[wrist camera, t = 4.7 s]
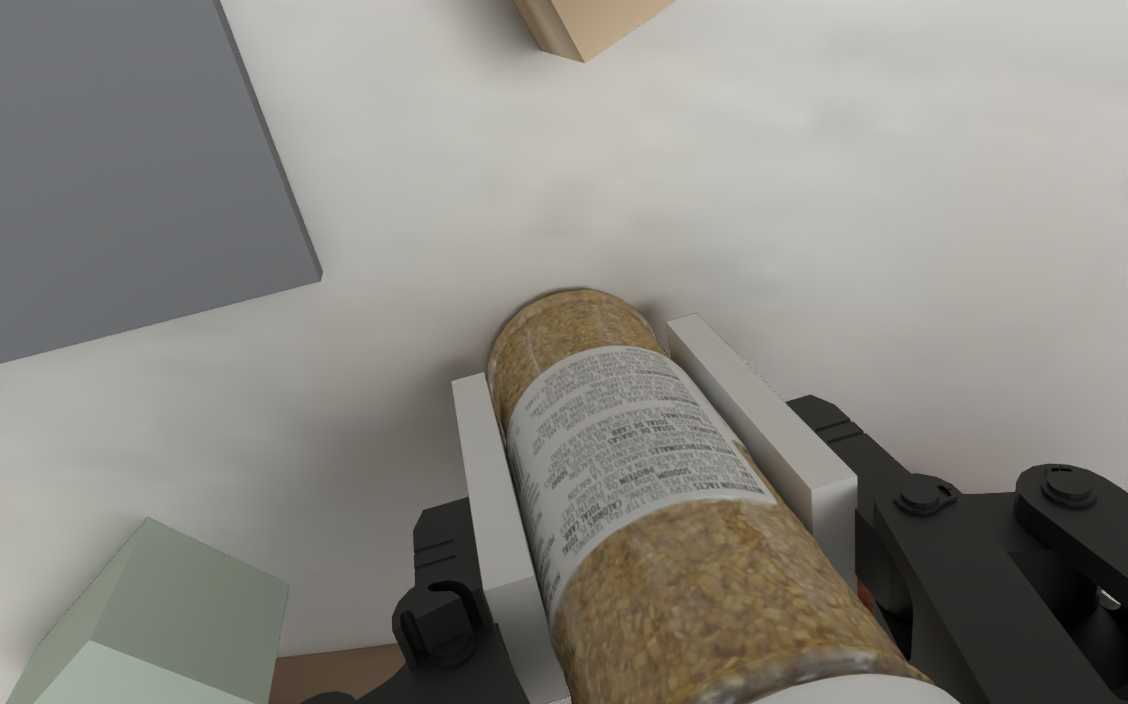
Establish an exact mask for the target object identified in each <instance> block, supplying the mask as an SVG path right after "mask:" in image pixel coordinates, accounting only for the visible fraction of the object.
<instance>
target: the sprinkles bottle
mask: <svg viewBox="0 0 1128 704" xmlns="http://www.w3.org/2000/svg"><path fill="white" fill-rule="evenodd" d="M487 376H488V382H487V385H488V388H489V392H490V395H491V399H492V402H493V406H494V409H495V413H496V415H497V416H498V417H499V418H500V420H501V422H502V426H503V429H504V433H505V438H506V456H507V460H508V465H509V468H510V473H511V477H512V481H513V485H514V489H515V493H516V497H517V501H518V505H519V509H520V513H521V517H522V521H523V525H524V529H525V532H526V537H527V541H528V545H529V549H530V553H531V557H532V561H533V565H534V569H535V573H536V577H537V581H538V585H539V589H540V593H541V597H542V601H543V605H544V609H545V613H546V617H547V621H548V626H549V634H550V638H551V643H552V647H553V650H554V653H555V656H556V658H557V661H558V663H559V665H560V667H561V669H562V671H563V672H564V677H565V681H566V684H567V687H568V689H569V692H570V696H571V702H572V704H961V703H959V702H958V701H957V700H956V699H954V698H953V697H952V696H951V695H949V694H948V693H947V692H945V691H944V690H942V689H940V688H938V687H936V686H935V684H934V682H933V681H932V680H931V679H930V678H929V677H927V676H926V675H924V674H923V673H921V672H920V671H919V670H917V669H916V668H915V667H913V666H911V665H909V664H908V662H907V661H906V659H905V658H904V656H903V654H902V653H901V651H900V650H899V649H898V648H897V647H896V645H895V644H894V643H893V642H892V641H891V639H890V638H889V636H888V635H887V633H886V632H885V631H884V630H883V629H882V627H881V626H880V625H879V624H878V623H877V621H876V619H875V618H874V616H873V615H872V613H871V612H870V611H869V610H868V609H867V608H866V607H864V605H863V603H862V602H861V600H860V599H859V598H858V597H857V596H856V595H855V594H854V593H853V591H852V589H851V588H850V587H849V586H848V584H847V582H846V581H845V580H844V579H843V578H842V577H841V576H840V575H839V574H838V573H837V571H836V569H835V568H834V567H833V566H832V565H831V564H830V562H829V561H828V559H827V557H826V556H825V554H824V553H823V551H822V550H821V549H820V547H819V545H818V543H817V542H816V540H815V539H814V538H813V536H812V535H811V534H810V532H808V531H807V530H806V529H805V528H804V525H803V524H802V522H801V521H800V520H799V518H798V517H797V516H796V515H795V514H794V513H793V512H792V510H791V509H790V508H789V507H788V506H787V505H786V504H785V503H784V501H783V499H782V498H781V496H780V495H779V494H778V492H777V491H776V490H775V489H774V487H773V486H772V485H771V484H770V482H769V481H768V480H767V478H766V477H765V476H764V474H763V473H762V472H761V471H760V470H759V468H758V466H757V464H756V463H755V462H754V461H753V458H752V456H751V454H750V452H749V451H748V449H747V448H746V446H745V445H744V444H743V443H742V442H741V440H740V439H739V438H738V437H737V435H736V434H735V433H734V432H733V431H732V429H731V428H730V427H729V426H728V424H727V423H726V422H725V420H724V419H723V418H722V417H721V415H720V414H719V413H718V412H717V411H716V409H715V408H714V407H713V406H712V404H711V403H710V402H709V401H708V399H707V398H706V397H705V396H704V394H703V393H702V392H701V391H700V389H699V388H698V387H697V385H696V384H695V383H694V382H693V380H692V379H691V378H690V377H689V376H688V375H687V373H686V372H685V371H684V370H683V369H682V368H681V367H679V366H678V365H677V364H676V363H674V362H673V361H672V360H671V358H670V357H669V355H668V354H667V353H666V352H665V351H664V349H663V348H662V347H661V346H660V344H659V343H658V340H657V337H656V335H655V333H654V331H653V329H652V327H651V325H650V324H649V322H648V321H647V320H646V319H645V318H644V317H643V316H642V315H641V314H640V313H639V312H638V311H637V310H636V309H635V308H634V307H632V306H630V305H629V304H627V303H626V302H624V301H623V300H621V299H619V298H616V297H614V296H611V295H609V294H606V293H601V292H598V291H594V290H590V289H585V290H577V291H567V292H560V293H556V294H553V295H550V296H547V297H544V298H542V299H539V300H537V301H535V302H534V303H532V304H531V305H529V306H527V307H525V308H523V309H521V310H520V312H519V313H518V314H517V315H516V316H515V317H514V318H513V319H512V320H511V321H510V322H509V323H508V324H507V325H506V327H505V328H504V330H503V331H502V333H501V334H500V336H499V337H498V338H497V340H496V342H495V345H494V348H493V350H492V352H491V354H490V358H489V362H488V366H487Z"/></svg>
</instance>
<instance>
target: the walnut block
mask: <svg viewBox="0 0 1128 704" xmlns="http://www.w3.org/2000/svg"><path fill="white" fill-rule="evenodd" d="M405 662H406V660H405V658H404V656H403V653H402V651H401V649H400V646H399V644H391V645H382V646H374V647H366V648H358V649H349V650H341V651H333V652H325V653H317V654H308V655H300V656H292V657H284V658H276V661H275V667H274V673H273V678H272V684H271V689H270V695H269V701H268V704H300V703H301V702H302V701H305V700H307V699H309V698H311V697H313V696H315V695H318V694H320V693H326V692H333V691H339V692H343V693H346V694H349V695H352V696H353V698H354V699H355V700H357V699H359V698H361V697H362V696H364V695H365V694H367V693H369V692H370V691H372V690H373V689H375V688H377V687H378V686H380V685H381V684H383V683H384V682H385V681H387V680H388V679H389V678H391V677H392V676H394V675H395V673H396V672H397V671H398V670H399V669H400V668H401V667H402V666H403V665H404V664H405Z"/></svg>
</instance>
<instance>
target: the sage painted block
mask: <svg viewBox="0 0 1128 704" xmlns="http://www.w3.org/2000/svg"><path fill="white" fill-rule="evenodd" d="M288 588H289V584H287V583H285V582H283V581H281V580H279V579H277V578H275V577H272V576H270V575H268V574H266V573H264V572H262V571H260V570H258V569H256V568H254V567H252V566H249V565H247V564H245V563H243V562H241V561H239V560H237V559H235V558H233V557H231V556H229V555H226V554H224V553H222V552H220V551H218V550H216V549H214V548H212V547H210V546H208V545H206V544H203V543H201V542H199V541H197V540H195V539H193V538H191V537H189V536H187V535H185V534H183V533H180V532H178V531H176V530H174V529H172V528H170V527H168V526H166V525H164V524H162V523H160V522H157V521H155V520H153V519H151V518H149V517H148V518H147V519H146V520H145V521H144V522H143V523H142V525H141V526H140V527H139V528H138V529H137V530H136V532H135V533H134V534H133V535H132V536H131V537H130V539H129V540H128V541H127V542H126V543H125V544H124V546H123V547H122V548H121V549H120V550H119V551H118V553H117V554H116V555H115V556H114V557H113V558H112V560H111V561H110V562H109V563H108V564H107V565H106V567H105V568H104V569H103V570H102V571H101V572H100V574H99V575H98V576H97V577H96V578H95V579H94V581H93V582H92V583H91V584H90V585H89V586H88V588H87V589H86V590H85V591H84V592H83V593H82V595H81V596H80V597H79V598H78V599H77V600H76V602H75V603H74V604H73V605H72V606H71V607H70V609H69V610H68V611H67V612H66V613H65V614H64V616H63V617H62V618H61V619H60V620H59V621H58V623H57V624H56V625H55V626H54V627H53V628H52V630H51V631H50V632H49V633H48V634H47V635H46V637H45V638H44V639H43V640H42V641H41V642H40V644H39V645H38V646H37V648H36V650H35V652H34V653H33V655H32V657H31V659H30V661H29V662H28V664H27V666H26V668H25V670H24V671H23V673H22V675H21V677H20V679H19V680H18V682H17V684H16V686H15V688H14V689H13V691H12V693H11V695H10V697H9V698H8V700H7V702H6V704H268V701H269V695H270V689H271V684H272V678H273V673H274V667H275V661H276V656H277V650H278V644H279V639H280V633H281V628H282V622H283V616H284V611H285V605H286V599H287V594H288Z"/></svg>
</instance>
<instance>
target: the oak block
mask: <svg viewBox="0 0 1128 704" xmlns="http://www.w3.org/2000/svg"><path fill="white" fill-rule="evenodd" d="M675 1H677V0H513V2H514V4H515V5H516V7H517V9H518V11H519V12H520V14H521V16H522V18H523V19H524V21H525V23H526V25H527V26H528V28H529V30H530V32H531V33H532V35H533V37H534V39H535V40H536V42H537V44H538V46H539V47H540V49H541V51H544V52H548V53H551V54H555V55H558V56H562V57H565V58H569V59H572V60H576V61H579V62H583V63H586V62H588V61H589V60H591V59H592V58H594V57H595V56H596V55H598V54H599V53H601V52H602V51H604V50H605V49H607V48H608V47H610V46H611V45H613V44H614V43H615V42H617V41H618V40H620V39H621V38H623V37H624V36H626V35H627V34H629V33H630V32H631V31H633V30H634V29H636V28H637V27H639V26H640V25H642V24H643V23H645V22H646V21H648V20H649V19H650V18H652V17H653V16H655V15H656V14H658V13H659V12H661V11H662V10H664V9H665V8H666V7H668V6H669V5H671V4H672V3H674V2H675Z"/></svg>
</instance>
